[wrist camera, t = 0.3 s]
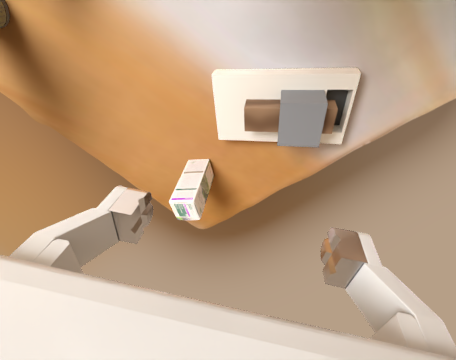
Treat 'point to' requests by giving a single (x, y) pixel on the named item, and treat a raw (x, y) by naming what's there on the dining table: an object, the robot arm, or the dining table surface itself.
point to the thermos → (4, 14)
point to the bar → (277, 115)
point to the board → (270, 89)
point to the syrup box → (192, 190)
